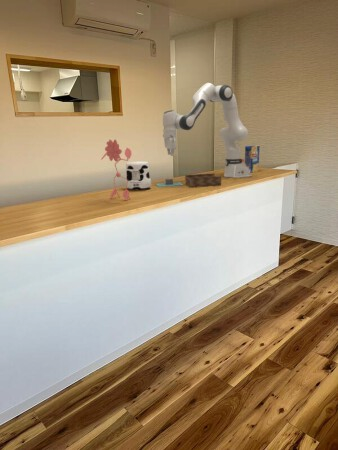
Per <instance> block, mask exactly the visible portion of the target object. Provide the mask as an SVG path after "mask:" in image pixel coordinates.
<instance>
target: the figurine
mask: <svg viewBox="0 0 338 450" xmlns="http://www.w3.org/2000/svg"><path fill="white" fill-rule="evenodd" d="M104 150H105V153H104V155H102V157H101V159H100V160H103V159H104V158H105V157H106V156H107V157H108V158H109V161H111V162H112V161H113V160H114V162H115V163H114V167H115V170H116V174H115V176H114V177H113V182H114V183H113V184H114V186H116V181H115V178H123V179H124V180H125V181H126V180H127V182H128V179H126V178H125V177H123V176H122V175H121V173H120V172H119V171H118V168H117V164H118V163H119V162H120V161H126V162H129V160H130V158H131V157H132V150H131V149H130V148H128V147H126V149H125V150H124V155H125V157H126V159H125V158H121V156H120V155H121V154H122V152H123V151H122V149H120V145H119V143H118V141H117V139H114V140H111V139H108V141H107V142H106V147H105V148H104ZM125 186H126V187H125V189H124V191H123V193H122V197H123V199H124V201H127V200H128V199H129V200H131V197H130V191H129V189H128V188H127V185H126V184H125ZM116 194H117V197H118V198H121V196H120V194H119V193H118V188H117V187H114V189H112V192H111V193H110V199H112V198H113V197H115V195H116ZM105 203H106V204H108V202H107V201H105ZM114 204H115V205H116V204H118V205H119V202H116V203H115V202H114Z"/></svg>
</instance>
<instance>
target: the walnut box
mask: <svg viewBox="0 0 338 450" xmlns="http://www.w3.org/2000/svg"><path fill="white" fill-rule="evenodd" d="M184 178H185V180H184V181H185V182H184V183H185V185H186V186H188V187H189V188H203V187H204V188H205V187H206V188H207V187H219V186H220V187H221V186H222V176H221V175H215V172H214V173H200V174H199V173H197V174H185V175H184Z"/></svg>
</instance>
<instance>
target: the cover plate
mask: <svg viewBox="0 0 338 450" xmlns="http://www.w3.org/2000/svg"><path fill="white" fill-rule="evenodd" d="M155 185H156V186H157V187H158V188H168V187H180V186H181V187H183V186H184V184H183V183H181V182H180V181H177V182H176V181H175V182H174V179H172V178H168V179H167V178H165V181H164V182H162V183H155Z"/></svg>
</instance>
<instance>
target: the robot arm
mask: <svg viewBox="0 0 338 450" xmlns="http://www.w3.org/2000/svg"><path fill="white" fill-rule="evenodd" d="M191 100H192V104H193V107H192V109H191V110H190V112H188V113H186V114H180V113H177V112H176V111H174V110H173V109H171V110H166V111H164V112H163V114H162V126H163V129H162V131H163V134H162V137H163V140H164V142H163V143H164V148H165V149H166V151H167V155H170V156H171V157H174V153H175V150H176V148H177V145H176V138H177V130H179V131H181V130H182V131H183V130H184V131H191V130H192V128H193V127H194V126H195V123H196V121H197V119H198V117H200V115H201V114H202V112H203V111H204V109H205V108H206V106H207V104H208V103H209V102H212V103H221V106H222V114H223V119H224V121H225V122H226V123H227V124H228V126H225V127H221V129H220V131H219V132H220V133H219V136H220V138H221V140H223V143H224V146H225V162H224V164H225V165H224V166H225V169H224V173H223V177H225V178H235V179H239V178H248V177H252V176H253V174H252V173H249V169H248V168H247V167H246V166H245V158H243V159H242V158H241V147H240V146H239V145H238V144H237V142H241V141H245V140H246V139H248V136H249V130H248V129H247V127H245V125H244V124H243V122H242V121H241V118H240V114H239V109H238V103H237V98H236V95H235V94H234V93H233V89H232V87H231V86H230V85H228V84H220V85H216V86H215V85H214V84H213V83H210V82H206V83H204V84H203V85H202V86H201V87H199V89H198V90H197V91H196V92H195V93H194V94H193V96H192V99H191Z"/></svg>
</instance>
